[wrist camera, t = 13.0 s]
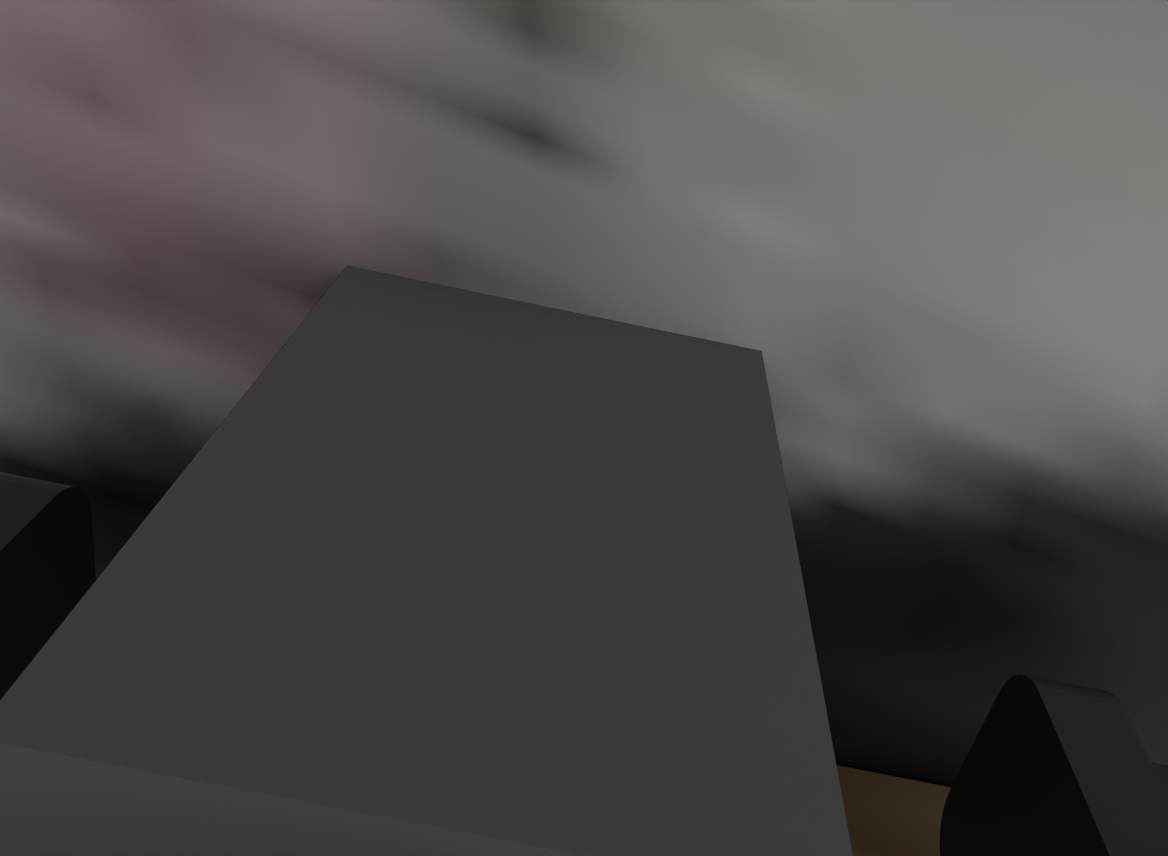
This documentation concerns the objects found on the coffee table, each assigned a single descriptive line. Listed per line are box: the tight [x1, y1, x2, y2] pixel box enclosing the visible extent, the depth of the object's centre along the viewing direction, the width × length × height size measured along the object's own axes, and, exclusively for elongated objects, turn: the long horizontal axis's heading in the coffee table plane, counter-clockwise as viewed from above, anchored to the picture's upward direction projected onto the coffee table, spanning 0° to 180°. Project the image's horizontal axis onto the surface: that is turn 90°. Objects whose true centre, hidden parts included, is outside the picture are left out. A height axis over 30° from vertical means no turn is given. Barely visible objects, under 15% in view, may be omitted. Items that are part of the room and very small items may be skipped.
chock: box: [0, 266, 853, 856], centre depth 8 cm, size 4×5×6 cm
